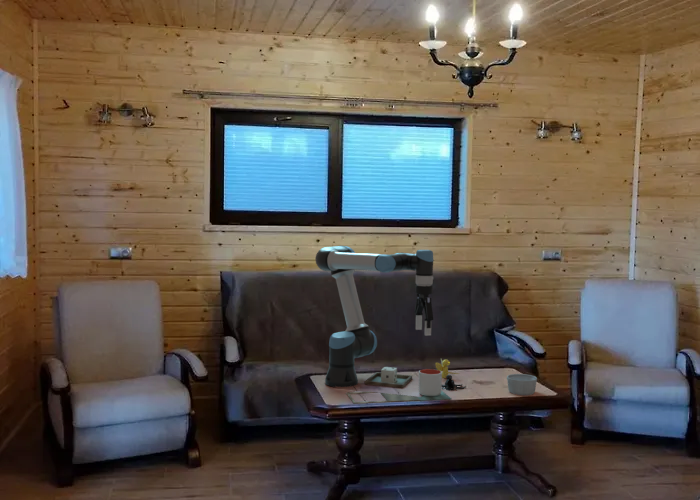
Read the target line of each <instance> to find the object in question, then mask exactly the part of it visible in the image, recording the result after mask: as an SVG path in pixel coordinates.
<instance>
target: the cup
mask: <svg viewBox="0 0 700 500" xmlns="http://www.w3.org/2000/svg"><path fill="white" fill-rule="evenodd" d="M442 373H443V371H439V370H437V369H436V368H435V369H434V368H424V369H420V370H418V393H419V394H420V395H421V396H423V395H424V396H438V395H440V394H441V390H443V389H442V388H443V387H442V385H443V384H442V381H443V378H442Z"/></svg>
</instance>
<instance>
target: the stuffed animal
mask: <svg viewBox="0 0 700 500" xmlns="http://www.w3.org/2000/svg"><path fill="white" fill-rule="evenodd" d="M445 379H446V380H445V382H444V384H442V388H443V389H442V390H444V389H446V391H454V390H456V391H457V390H464V388H465V389H466V388H467V386H466V385H465V386H464V385H463V383H461V384H457V383H456V384H455V381H454V379H453V376H452V375H451V374H449V375H447V376H446V378H445ZM457 386H461V387H457ZM444 387H445V388H444ZM451 388H453V389H451Z"/></svg>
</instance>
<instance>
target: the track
mask: <svg viewBox="0 0 700 500" xmlns="http://www.w3.org/2000/svg"><path fill="white" fill-rule="evenodd" d="M345 394H346V395H347V397H348V398H349V399H350V401H351V402H352V404H354V405H356V404H358V405H359V404H377V403H381V404H382V403H401V402H422V401H444V400H445V401H446V400H447V401H448V400H452V397H451V396H449V395H448V394H447V393H445V392H444V391H443V389H441V394H440V395H438V396H424V395H421V396H418V395H417V396H416V395H408V394H407V395H404V394H395V393H386V392H380V394H381V396H382V398H384V399H385V400H373V401H372V400H371V401H355V400H354V398H353V397H352V395H353V394H354V395H355V394H356V395H357V394H358V395H359V394H379V392H378V391H377V392H376V391H354V392H346V393H345Z"/></svg>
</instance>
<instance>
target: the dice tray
mask: <svg viewBox="0 0 700 500" xmlns="http://www.w3.org/2000/svg"><path fill="white" fill-rule="evenodd" d="M412 380H413V375H411V374H410V375H409V374H398V373H397V381H396V382H395V383H385V382H381V372H377V371H376V372H375V373H373V374H372V375H371V376H369V377H368V378H367V379H366V380H365V381H364V385H367V386H368V385H369V386H376V387H377V386H378V387H387V388H395V389H396V388H399V389H404V387H406V386H407V385H408V384H409V383H410V382H411V381H412Z"/></svg>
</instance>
